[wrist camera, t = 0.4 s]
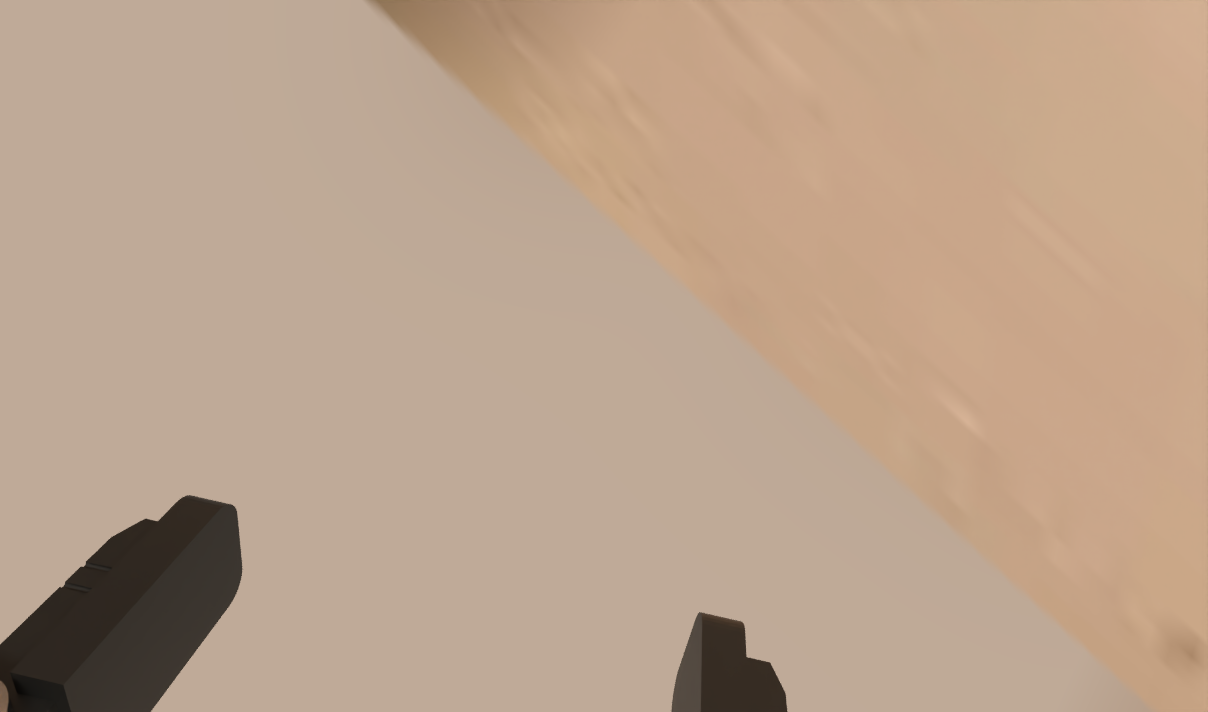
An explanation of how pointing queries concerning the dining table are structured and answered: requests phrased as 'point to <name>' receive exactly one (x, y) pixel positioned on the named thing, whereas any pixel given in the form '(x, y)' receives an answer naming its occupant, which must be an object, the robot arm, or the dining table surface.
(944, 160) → the dining table surface
